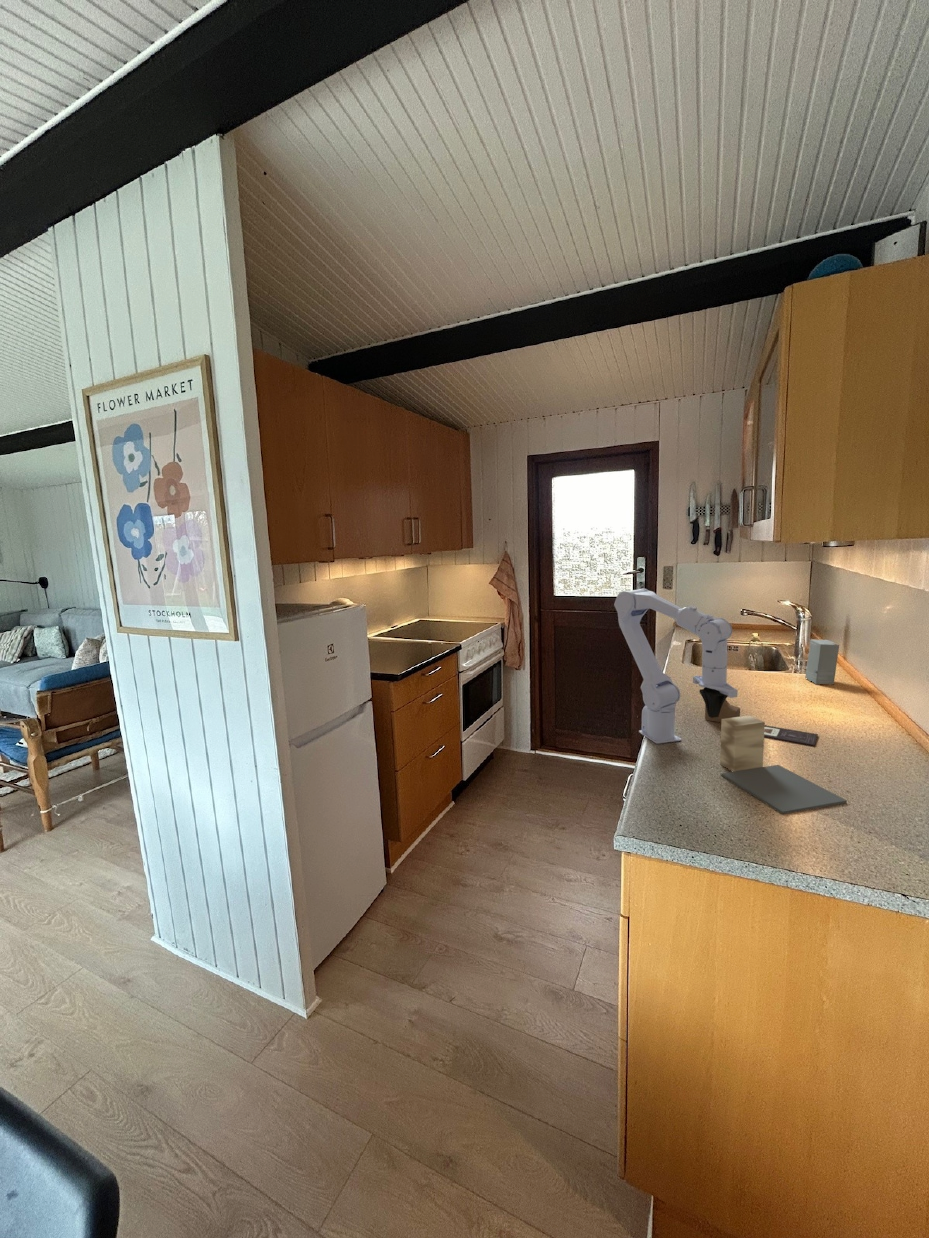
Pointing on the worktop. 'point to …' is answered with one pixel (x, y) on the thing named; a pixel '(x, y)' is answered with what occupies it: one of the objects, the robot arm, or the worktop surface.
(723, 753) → the birch block
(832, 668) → the skincare box
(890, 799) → the worktop surface
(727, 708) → the wooden block
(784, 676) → the worktop surface
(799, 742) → the chocolate bar
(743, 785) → the mat
